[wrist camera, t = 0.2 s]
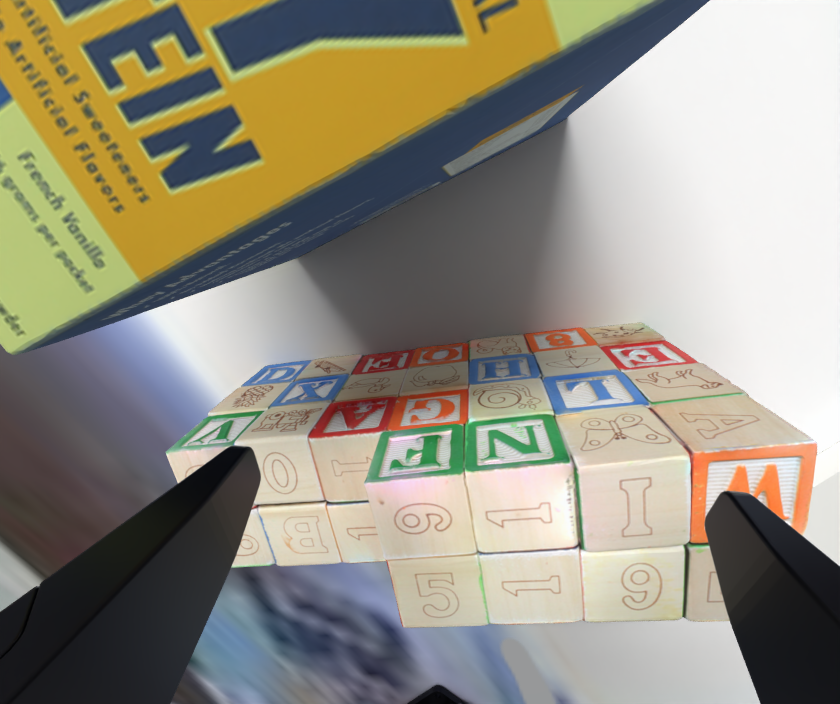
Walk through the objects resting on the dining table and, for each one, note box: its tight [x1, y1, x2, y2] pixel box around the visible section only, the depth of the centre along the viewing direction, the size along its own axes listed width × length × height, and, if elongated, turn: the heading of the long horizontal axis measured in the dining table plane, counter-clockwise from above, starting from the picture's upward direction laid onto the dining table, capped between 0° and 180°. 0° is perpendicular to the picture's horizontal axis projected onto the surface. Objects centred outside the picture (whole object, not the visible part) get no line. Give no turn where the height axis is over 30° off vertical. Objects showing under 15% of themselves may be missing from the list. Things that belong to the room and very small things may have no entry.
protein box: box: [0, 0, 710, 355], centre depth 13 cm, size 10×15×16 cm
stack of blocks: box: [166, 323, 817, 628], centre depth 19 cm, size 21×6×12 cm, turn 99°
